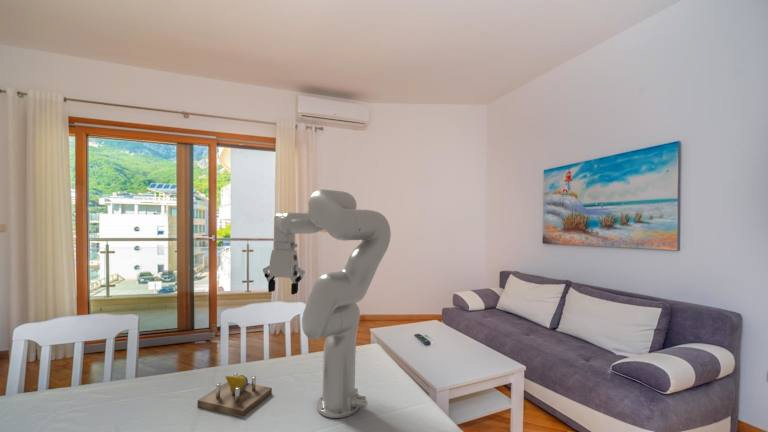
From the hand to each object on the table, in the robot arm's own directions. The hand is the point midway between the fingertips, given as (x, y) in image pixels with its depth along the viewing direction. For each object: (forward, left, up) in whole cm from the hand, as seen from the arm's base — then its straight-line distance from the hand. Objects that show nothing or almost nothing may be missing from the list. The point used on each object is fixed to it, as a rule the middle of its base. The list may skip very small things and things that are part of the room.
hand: (282, 292), depth 119 cm
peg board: (+1, +22, -28) cm, 36 cm away
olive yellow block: (0, +22, -27) cm, 34 cm away
